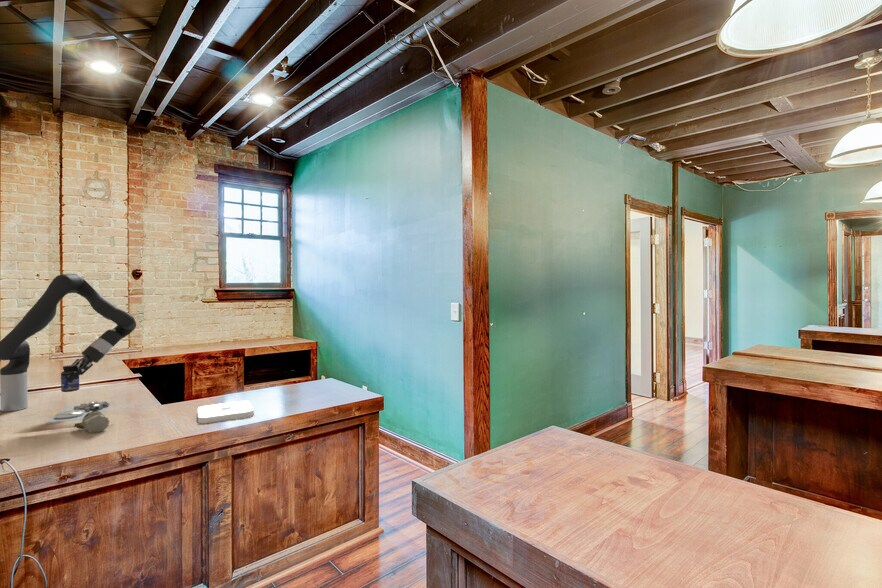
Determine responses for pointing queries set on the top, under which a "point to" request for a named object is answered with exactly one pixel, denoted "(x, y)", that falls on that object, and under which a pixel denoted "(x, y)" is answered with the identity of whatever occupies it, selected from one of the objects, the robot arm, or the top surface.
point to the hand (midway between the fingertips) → (65, 380)
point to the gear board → (72, 418)
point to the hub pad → (70, 414)
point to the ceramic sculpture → (93, 422)
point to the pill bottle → (65, 384)
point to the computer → (225, 411)
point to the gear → (91, 406)
